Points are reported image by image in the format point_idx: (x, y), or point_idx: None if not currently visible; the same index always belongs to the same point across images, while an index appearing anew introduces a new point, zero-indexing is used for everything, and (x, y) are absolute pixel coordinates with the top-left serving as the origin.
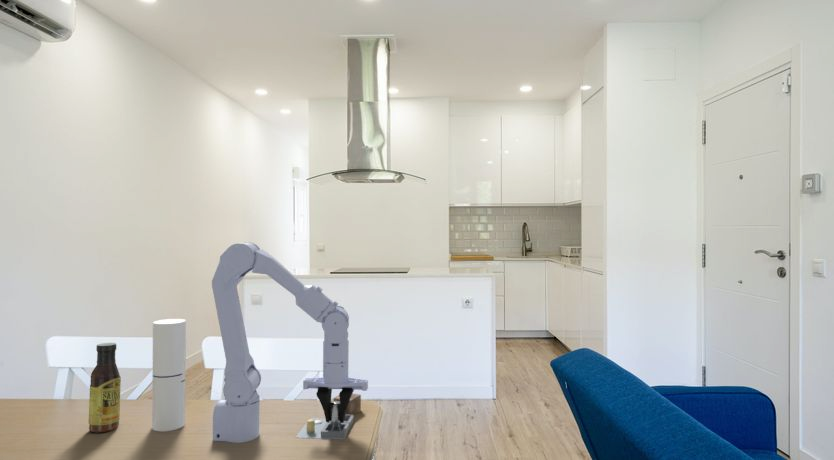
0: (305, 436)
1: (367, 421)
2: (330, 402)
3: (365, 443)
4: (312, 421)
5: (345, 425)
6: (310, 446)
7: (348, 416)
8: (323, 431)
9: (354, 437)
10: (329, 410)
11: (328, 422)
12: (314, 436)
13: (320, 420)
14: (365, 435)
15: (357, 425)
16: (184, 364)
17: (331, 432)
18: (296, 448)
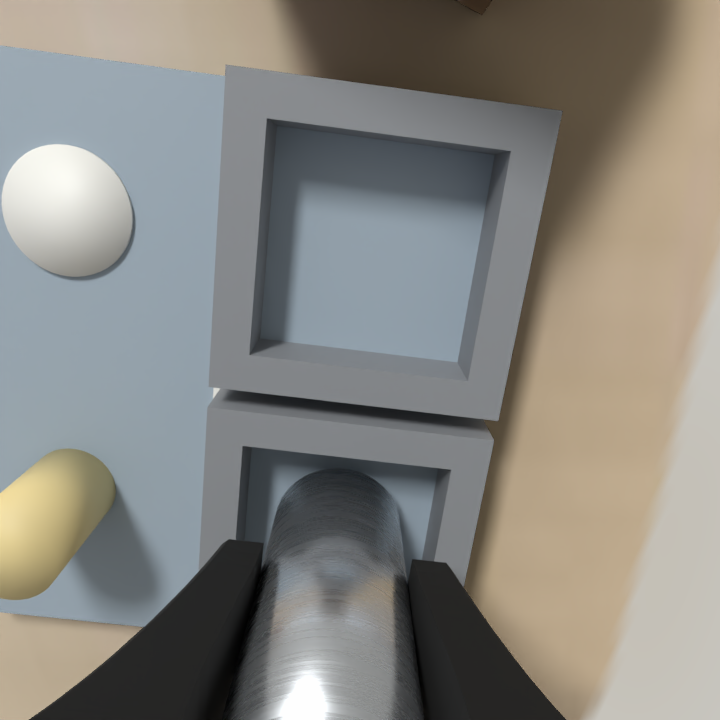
0: (58, 591)
1: (695, 46)
2: (192, 718)
3: (614, 624)
4: (37, 578)
5: (446, 500)
6: None
7: (472, 146)
8: None
9: (521, 504)
10: (222, 703)
11: (227, 385)
12: (145, 595)
13: (92, 140)
14: (629, 464)
15: (561, 185)
16: None
17: None
18: (49, 686)
